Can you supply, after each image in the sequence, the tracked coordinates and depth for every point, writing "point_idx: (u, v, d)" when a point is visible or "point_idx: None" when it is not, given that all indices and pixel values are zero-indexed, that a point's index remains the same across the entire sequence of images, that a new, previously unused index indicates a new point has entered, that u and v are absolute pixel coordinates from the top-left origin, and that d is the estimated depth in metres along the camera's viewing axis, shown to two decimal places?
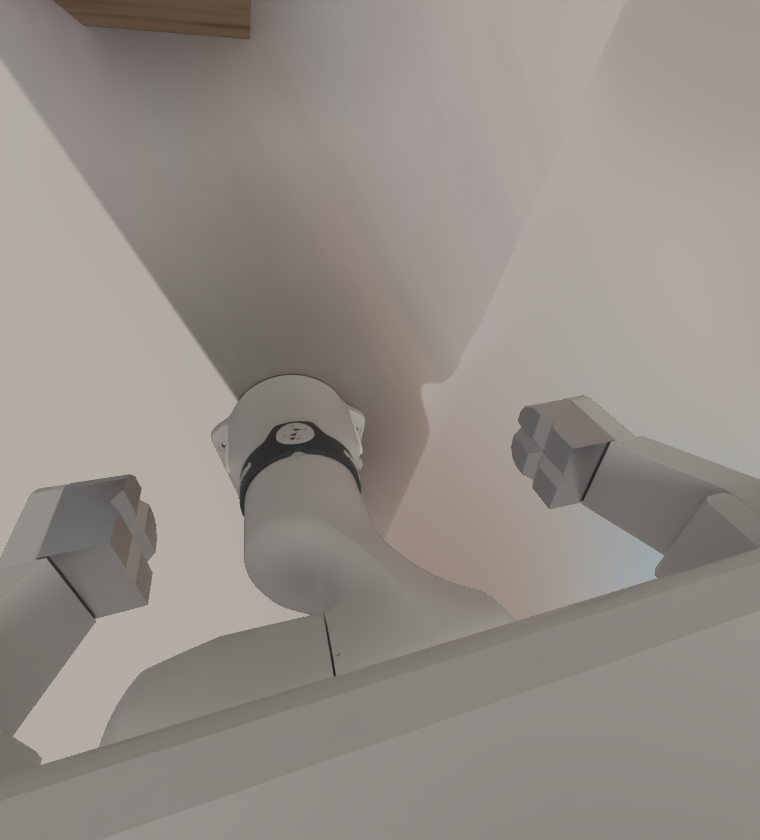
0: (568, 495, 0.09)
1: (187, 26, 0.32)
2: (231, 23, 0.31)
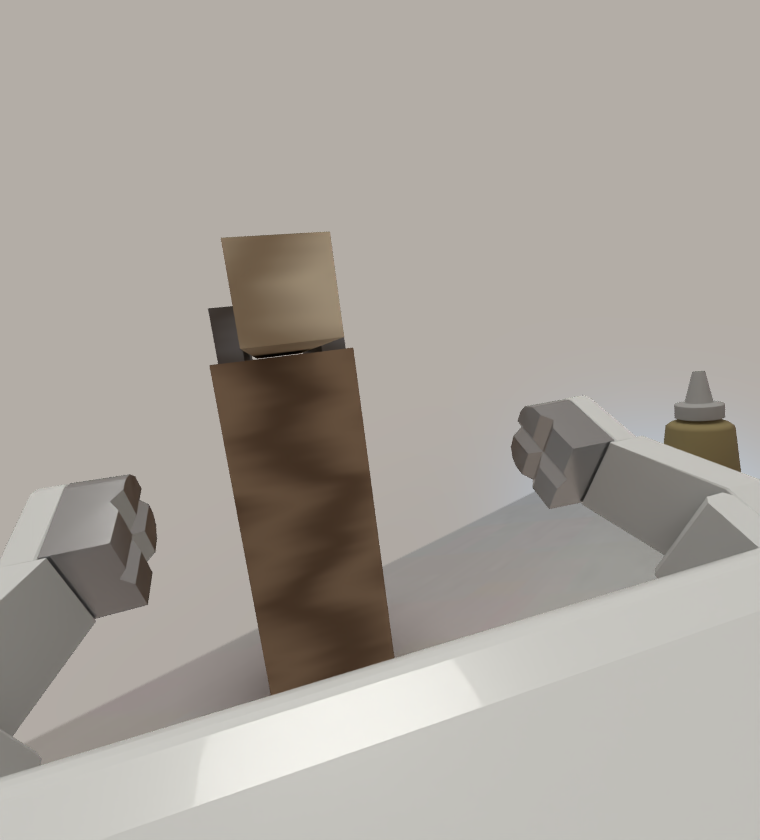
0: (568, 495, 0.09)
1: None
2: None
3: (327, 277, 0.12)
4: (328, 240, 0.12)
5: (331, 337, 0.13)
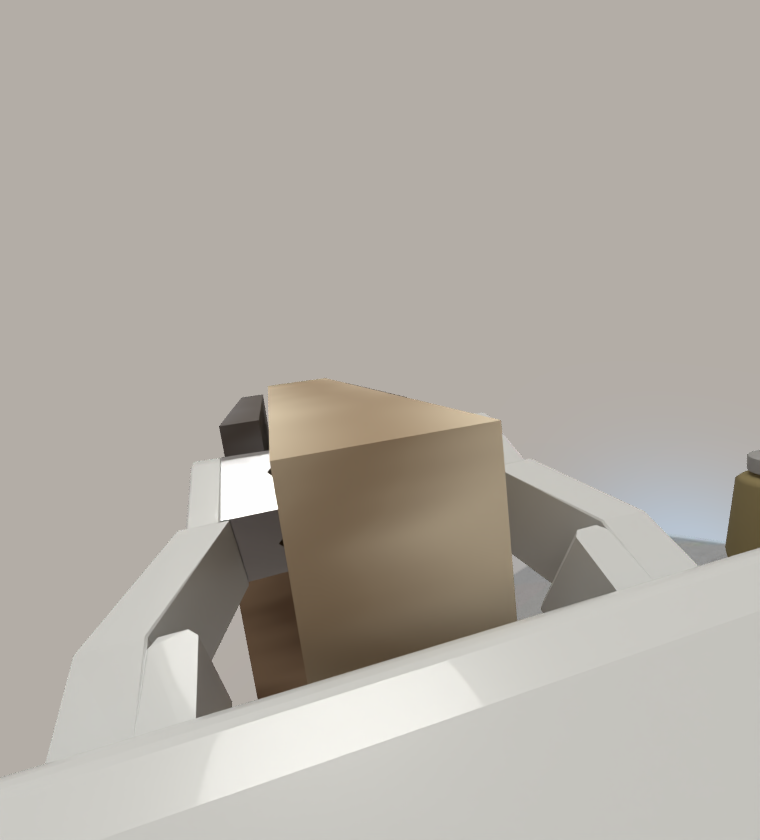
0: None
1: None
2: None
3: (490, 515, 0.06)
4: (497, 438, 0.06)
5: None
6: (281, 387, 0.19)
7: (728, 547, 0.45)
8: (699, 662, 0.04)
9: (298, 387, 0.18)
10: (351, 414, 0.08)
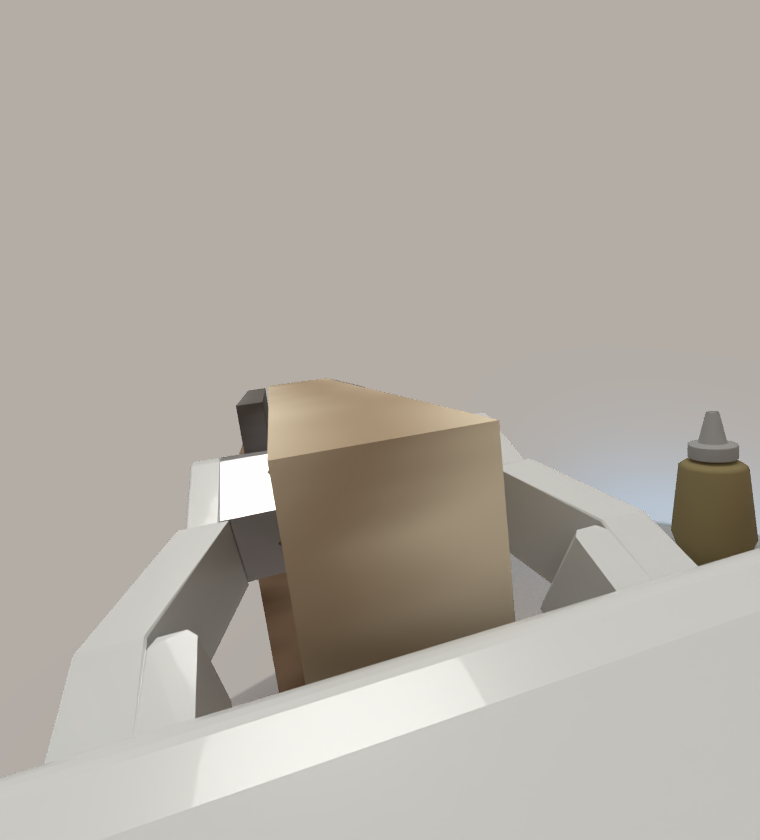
0: None
1: None
2: None
3: (488, 514, 0.06)
4: (495, 438, 0.06)
5: (490, 628, 0.06)
6: (282, 387, 0.19)
7: (672, 525, 0.51)
8: (699, 662, 0.04)
9: (299, 387, 0.18)
10: (350, 414, 0.08)
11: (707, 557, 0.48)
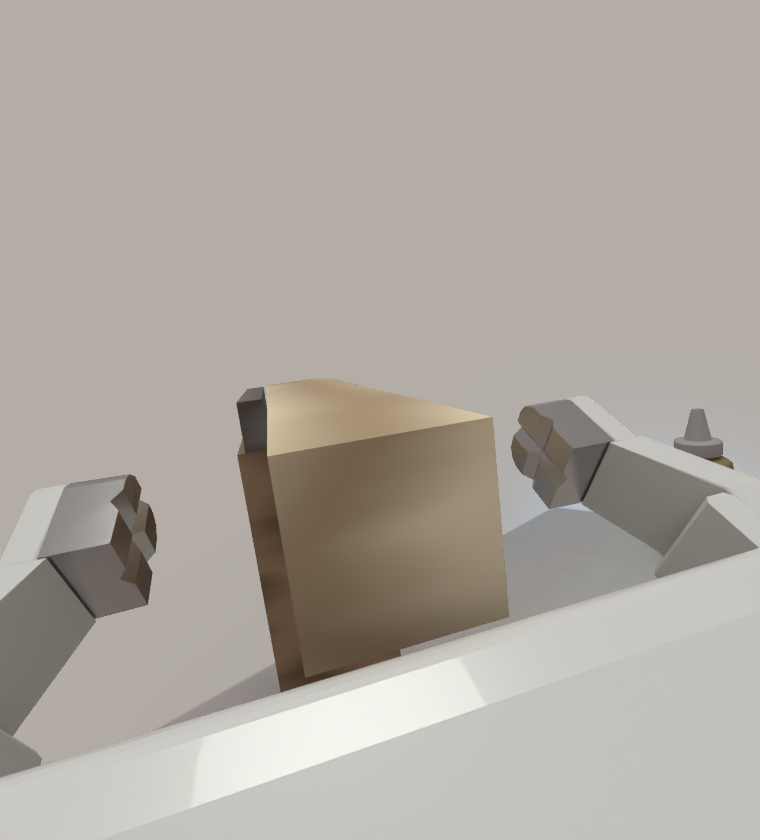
0: (568, 495, 0.09)
1: None
2: None
3: (482, 509, 0.06)
4: (489, 434, 0.06)
5: (484, 619, 0.06)
6: (280, 386, 0.20)
7: None
8: (699, 662, 0.04)
9: (297, 386, 0.18)
10: (348, 412, 0.08)
11: None
